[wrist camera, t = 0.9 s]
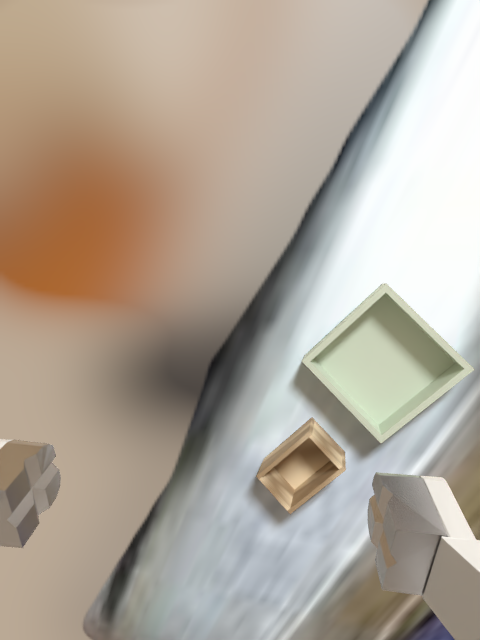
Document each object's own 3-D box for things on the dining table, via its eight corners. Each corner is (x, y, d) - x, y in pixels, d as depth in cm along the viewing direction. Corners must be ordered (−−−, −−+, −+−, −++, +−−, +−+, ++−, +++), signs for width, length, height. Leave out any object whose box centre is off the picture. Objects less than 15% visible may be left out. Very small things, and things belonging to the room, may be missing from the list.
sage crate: (463, 362, 45) (474, 369, 41) (377, 430, 48) (381, 443, 44) (382, 283, 46) (386, 283, 43) (304, 355, 50) (301, 361, 46)
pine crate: (345, 452, 49) (345, 470, 45) (294, 492, 52) (290, 514, 47) (312, 417, 50) (309, 431, 45) (263, 458, 52) (256, 476, 47)
